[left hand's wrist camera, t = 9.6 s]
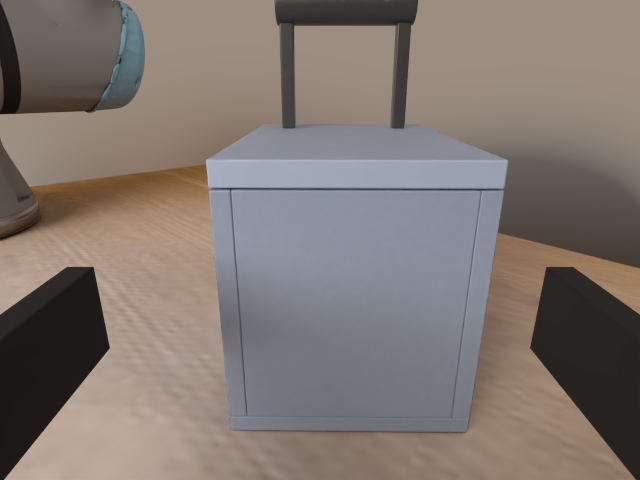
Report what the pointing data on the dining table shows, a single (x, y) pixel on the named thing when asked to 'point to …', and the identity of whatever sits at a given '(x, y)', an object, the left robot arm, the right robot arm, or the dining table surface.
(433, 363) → the chest
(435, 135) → the lid
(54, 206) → the dining table surface
